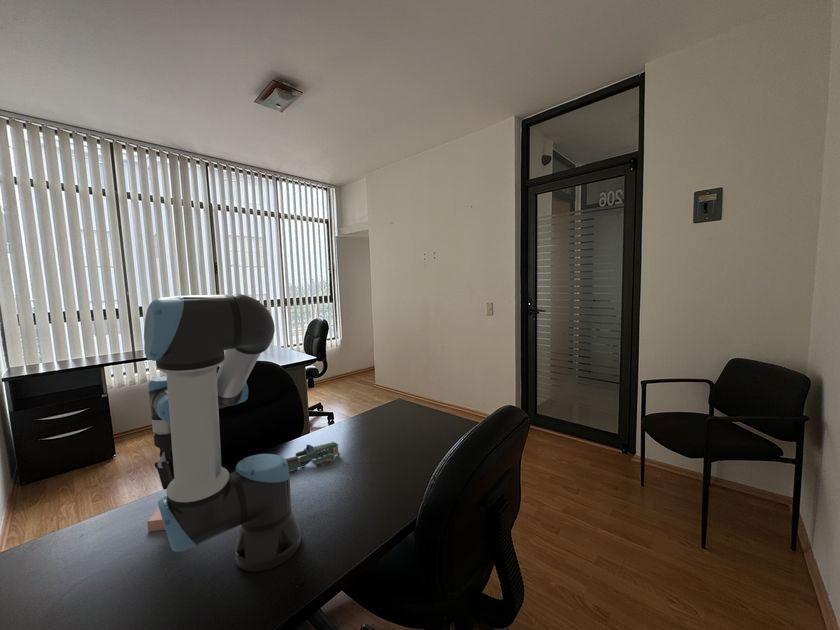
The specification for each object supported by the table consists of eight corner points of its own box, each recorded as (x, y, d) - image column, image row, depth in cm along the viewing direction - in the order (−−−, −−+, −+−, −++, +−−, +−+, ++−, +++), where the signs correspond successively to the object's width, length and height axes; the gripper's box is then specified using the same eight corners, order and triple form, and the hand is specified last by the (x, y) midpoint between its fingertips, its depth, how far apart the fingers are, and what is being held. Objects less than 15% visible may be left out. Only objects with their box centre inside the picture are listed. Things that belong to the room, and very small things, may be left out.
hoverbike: (344, 462, 131) (343, 440, 130) (272, 485, 117) (271, 461, 116) (335, 452, 139) (333, 431, 138) (267, 472, 125) (265, 450, 124)
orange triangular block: (172, 528, 97) (171, 518, 96) (148, 531, 96) (147, 521, 96) (186, 510, 105) (186, 500, 104) (164, 512, 104) (163, 503, 103)
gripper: (171, 437, 97) (179, 518, 99) (193, 419, 109) (200, 491, 112) (140, 440, 96) (149, 521, 98) (167, 421, 108) (174, 494, 111)
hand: (176, 505), depth 105 cm, fingers closed
